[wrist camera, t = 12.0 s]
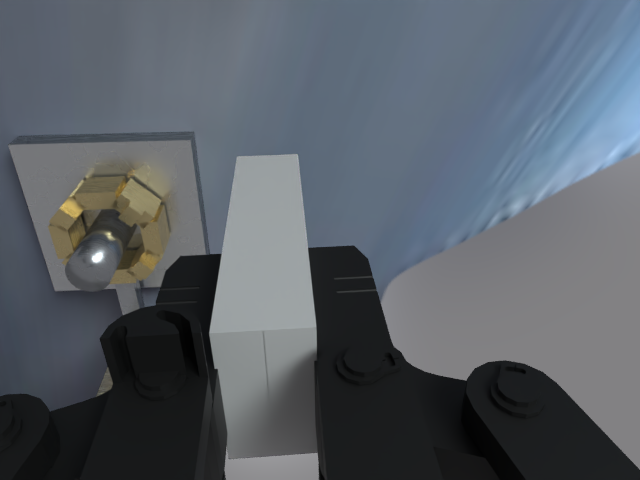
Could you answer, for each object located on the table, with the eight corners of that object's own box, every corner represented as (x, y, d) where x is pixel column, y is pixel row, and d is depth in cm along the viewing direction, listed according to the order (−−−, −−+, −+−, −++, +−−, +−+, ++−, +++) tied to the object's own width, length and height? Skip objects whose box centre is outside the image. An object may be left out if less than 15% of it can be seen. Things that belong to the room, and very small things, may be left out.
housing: (62, 278, 49) (17, 351, 41) (19, 136, 42) (-48, 188, 34) (212, 272, 50) (198, 343, 42) (194, 131, 43) (172, 181, 34)
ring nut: (52, 178, 42) (-46, 285, 29) (158, 174, 42) (107, 278, 30) (112, 379, 53) (59, 519, 40) (195, 375, 54) (169, 511, 41)
